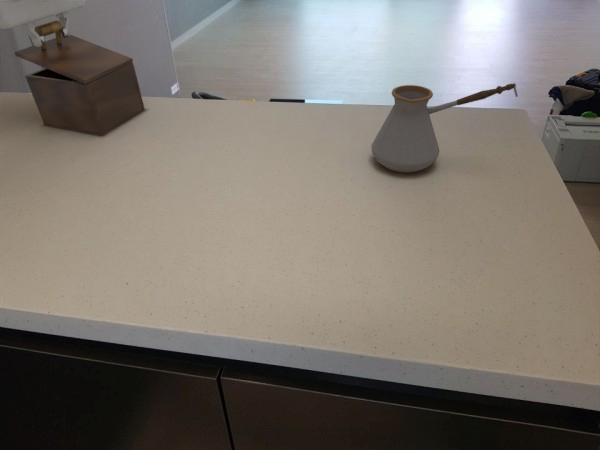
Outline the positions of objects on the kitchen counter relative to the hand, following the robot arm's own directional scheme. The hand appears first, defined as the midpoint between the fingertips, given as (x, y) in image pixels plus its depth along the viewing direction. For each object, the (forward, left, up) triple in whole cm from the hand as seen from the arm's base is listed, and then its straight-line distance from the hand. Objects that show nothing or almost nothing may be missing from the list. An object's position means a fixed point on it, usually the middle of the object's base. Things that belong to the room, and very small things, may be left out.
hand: (52, 41), depth 91 cm
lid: (+5, 0, -3) cm, 6 cm away
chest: (+5, 0, -16) cm, 17 cm away
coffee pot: (+76, +4, -16) cm, 78 cm away
